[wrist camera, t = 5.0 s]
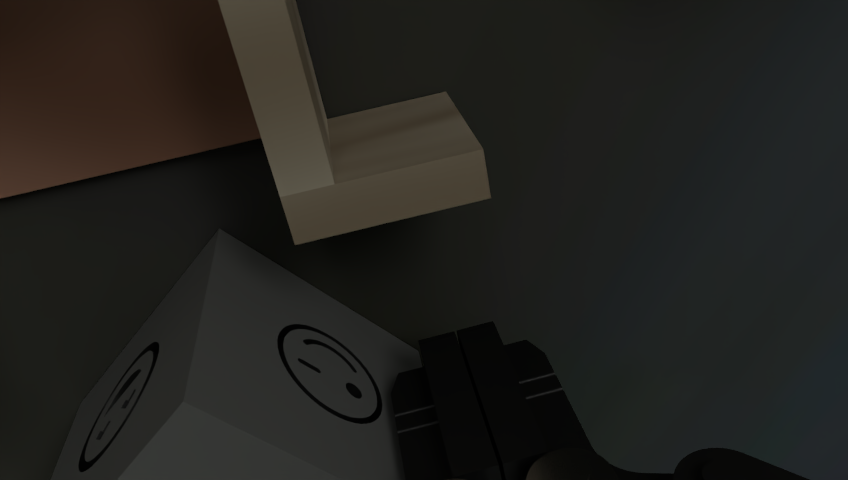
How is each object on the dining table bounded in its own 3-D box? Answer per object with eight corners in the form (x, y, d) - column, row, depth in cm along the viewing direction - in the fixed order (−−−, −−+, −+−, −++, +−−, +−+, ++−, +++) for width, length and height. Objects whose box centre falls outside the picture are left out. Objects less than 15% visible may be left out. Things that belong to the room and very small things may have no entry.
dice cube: (418, 350, 16) (466, 540, 11) (281, 495, 17) (276, 716, 13) (219, 228, 14) (182, 401, 9) (80, 403, 15) (-9, 627, 11)
